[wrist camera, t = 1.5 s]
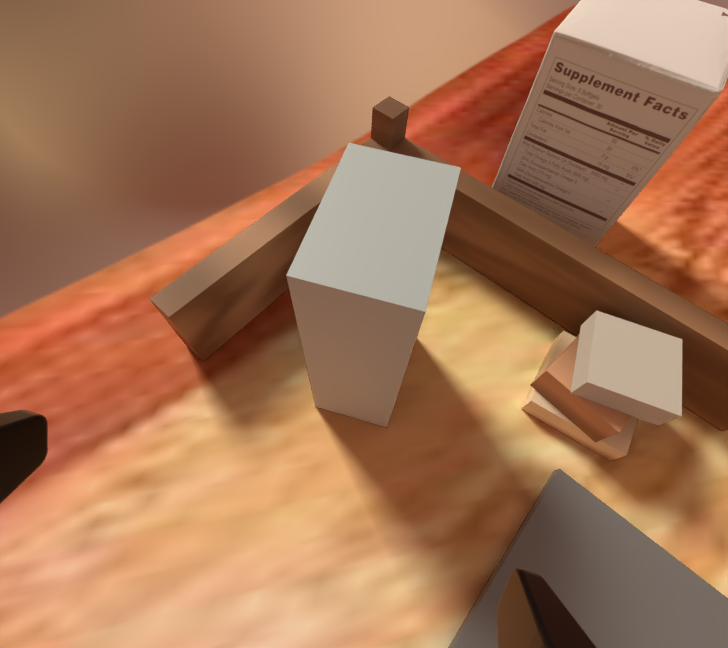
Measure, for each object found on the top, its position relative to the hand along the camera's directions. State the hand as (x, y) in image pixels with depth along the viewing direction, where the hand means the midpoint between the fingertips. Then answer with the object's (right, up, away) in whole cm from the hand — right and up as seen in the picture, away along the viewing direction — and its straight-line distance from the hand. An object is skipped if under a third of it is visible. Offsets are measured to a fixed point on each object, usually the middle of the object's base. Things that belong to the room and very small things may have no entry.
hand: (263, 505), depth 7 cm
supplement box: (+15, +11, +22) cm, 28 cm away
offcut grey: (+14, +1, +12) cm, 19 cm away
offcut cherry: (+14, 0, +14) cm, 20 cm away
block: (+2, +1, +16) cm, 16 cm away
